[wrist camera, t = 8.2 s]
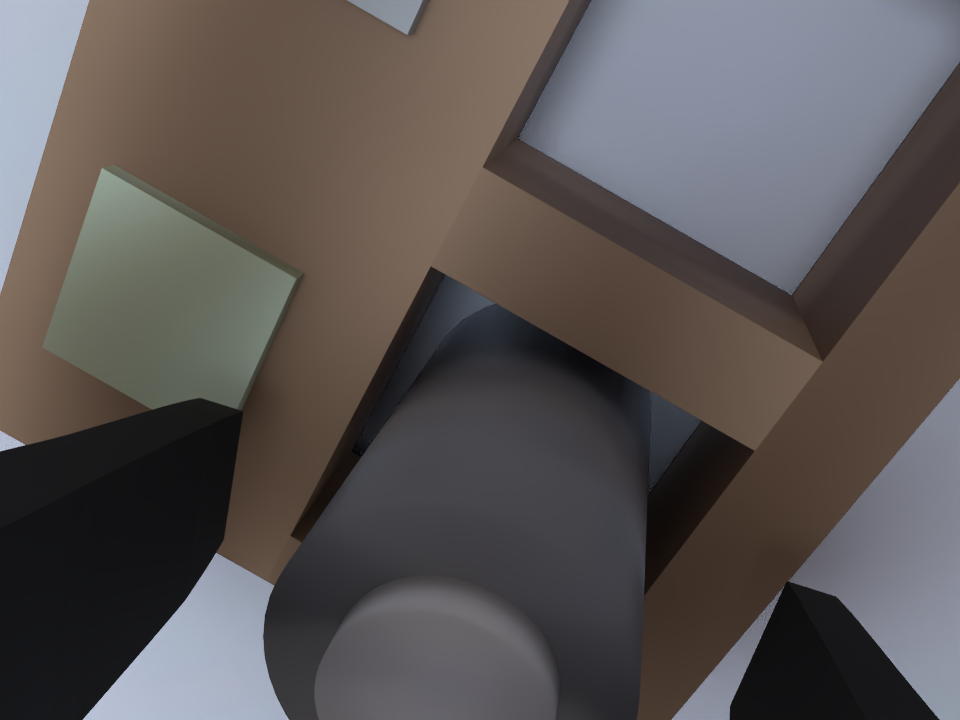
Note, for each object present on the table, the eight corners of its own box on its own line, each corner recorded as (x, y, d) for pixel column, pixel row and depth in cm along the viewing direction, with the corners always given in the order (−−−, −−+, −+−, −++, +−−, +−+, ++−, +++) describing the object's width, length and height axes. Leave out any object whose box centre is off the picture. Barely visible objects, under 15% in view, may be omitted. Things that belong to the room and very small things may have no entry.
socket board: (1631, -624, 9) (2093, -932, 6) (626, 659, 17) (618, 795, 14) (630, -1215, 9) (614, -1818, 6) (77, 347, 17) (-49, 418, 14)
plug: (681, 335, 15) (695, 614, 8) (614, 535, 16) (575, 917, 9) (449, 271, 15) (266, 483, 8) (405, 473, 17) (218, 796, 10)
